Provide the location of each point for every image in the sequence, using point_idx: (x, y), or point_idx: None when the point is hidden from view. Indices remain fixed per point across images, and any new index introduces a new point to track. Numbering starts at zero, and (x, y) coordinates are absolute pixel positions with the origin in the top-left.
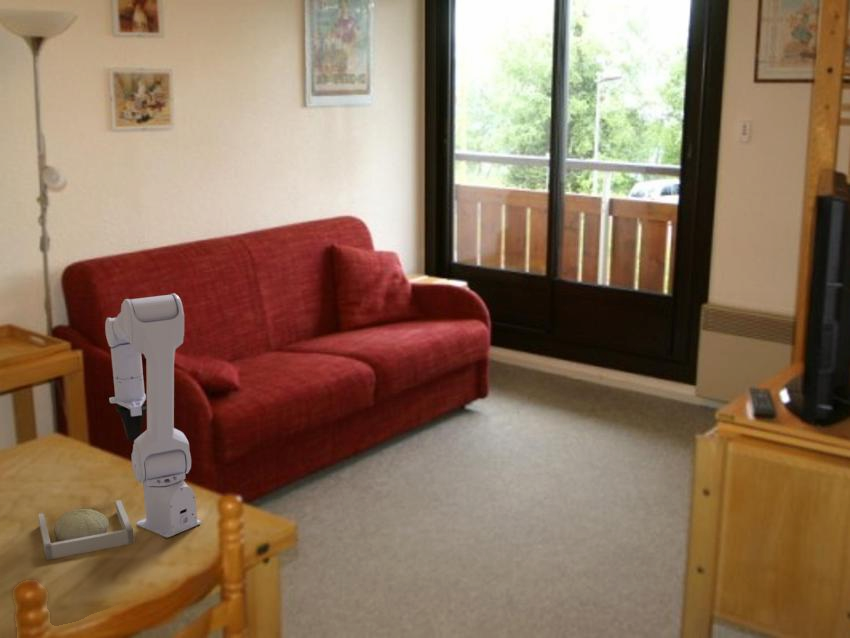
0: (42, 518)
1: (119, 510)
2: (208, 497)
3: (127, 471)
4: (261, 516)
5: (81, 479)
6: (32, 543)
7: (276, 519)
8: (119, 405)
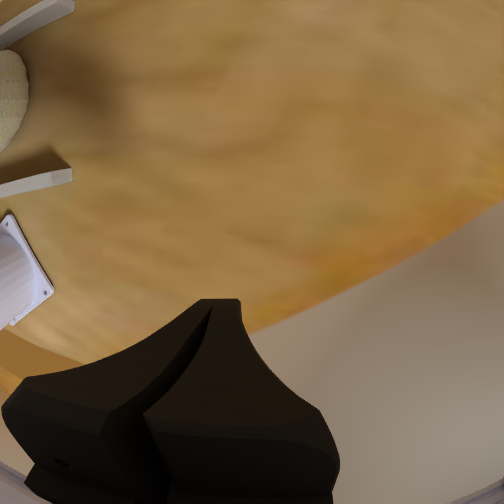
0: (34, 10)
1: (6, 183)
2: None
3: (378, 226)
4: None
5: (372, 82)
6: None
7: None
8: (313, 472)
